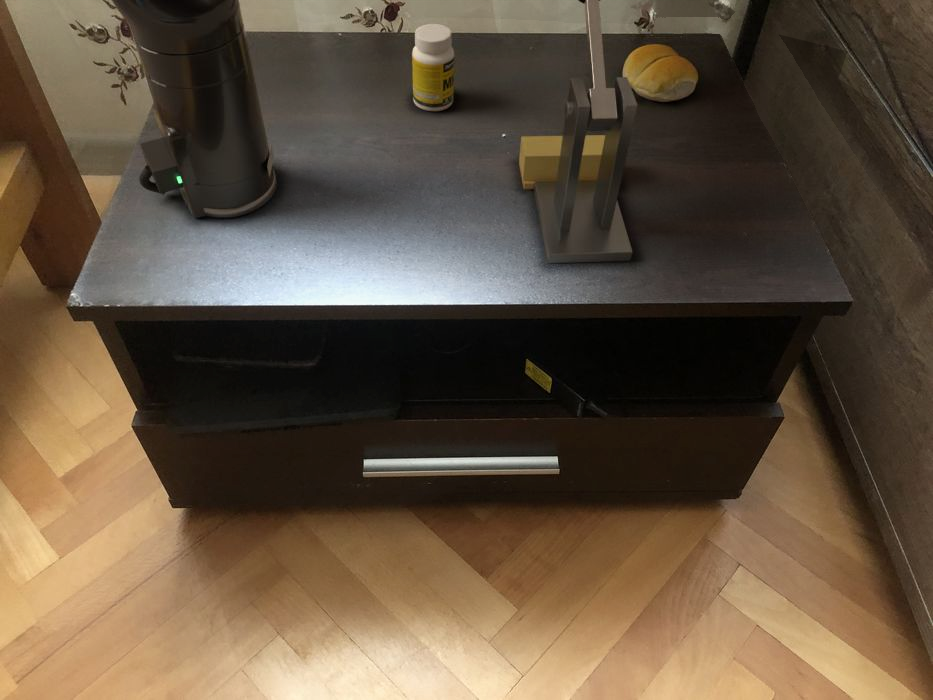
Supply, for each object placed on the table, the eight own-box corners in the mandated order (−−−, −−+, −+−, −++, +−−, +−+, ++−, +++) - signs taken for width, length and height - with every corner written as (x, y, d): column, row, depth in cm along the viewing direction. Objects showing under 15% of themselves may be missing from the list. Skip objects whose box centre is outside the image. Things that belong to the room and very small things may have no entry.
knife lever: (568, -20, 72) (574, -43, 68) (602, -20, 72) (610, -43, 69) (579, 133, 69) (587, 116, 66) (615, 132, 69) (624, 115, 66)
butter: (518, 163, 84) (520, 133, 81) (611, 161, 84) (617, 131, 82) (522, 189, 81) (525, 159, 78) (619, 187, 82) (625, 157, 79)
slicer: (533, 190, 81) (548, 57, 70) (609, 188, 82) (636, 56, 70) (547, 263, 74) (566, 129, 63) (630, 261, 74) (664, 128, 63)
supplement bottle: (448, 115, 89) (449, 46, 83) (408, 109, 90) (406, 40, 83) (457, 92, 92) (458, 24, 86) (418, 87, 93) (417, 19, 86)
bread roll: (661, 58, 99) (668, 28, 96) (705, 94, 93) (714, 63, 90) (606, 72, 96) (612, 42, 93) (648, 110, 91) (655, 79, 88)
